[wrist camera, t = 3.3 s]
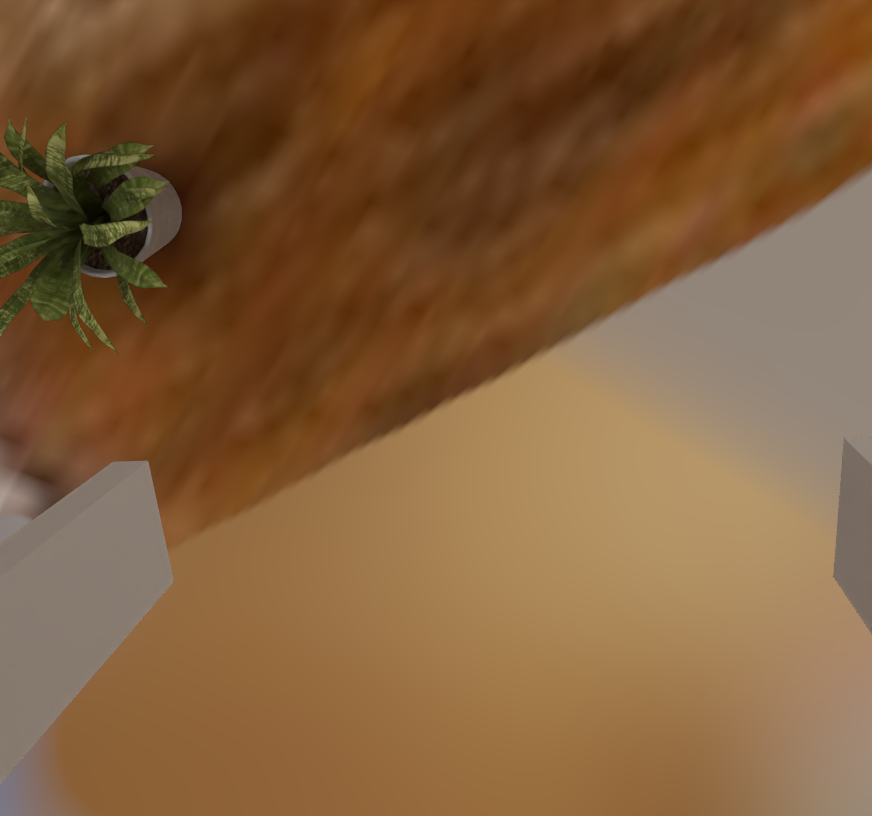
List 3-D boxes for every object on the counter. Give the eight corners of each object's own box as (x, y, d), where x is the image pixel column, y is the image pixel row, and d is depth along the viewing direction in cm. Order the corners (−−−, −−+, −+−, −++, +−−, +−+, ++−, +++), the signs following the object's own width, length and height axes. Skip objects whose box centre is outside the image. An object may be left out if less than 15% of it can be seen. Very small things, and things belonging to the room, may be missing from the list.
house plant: (235, 356, 54) (114, 440, 39) (47, 306, 55) (-145, 370, 40) (266, 144, 50) (142, 145, 34) (59, 93, 50) (-153, 71, 35)
